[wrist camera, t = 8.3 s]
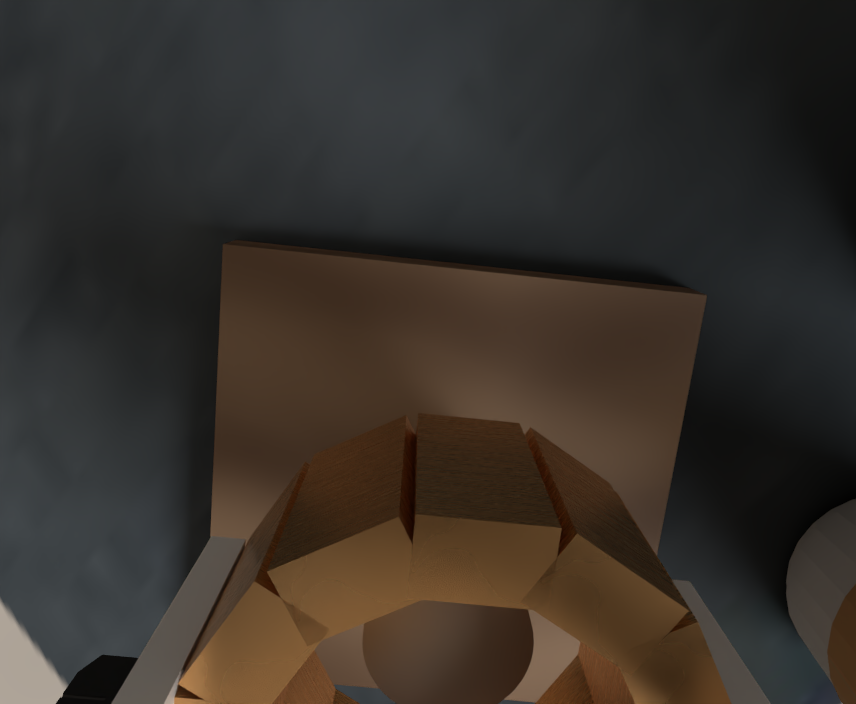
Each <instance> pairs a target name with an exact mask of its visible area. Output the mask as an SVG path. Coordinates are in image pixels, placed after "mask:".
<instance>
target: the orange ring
mask: <svg viewBox="0 0 856 704" xmlns="http://www.w3.org/2000/svg"><path fill="white" fill-rule="evenodd" d="M421 600H430V601H440V602H451V603H462V604H473V605H484V606H495V607H506V608H517V609H528V610H534V611H535V612H537V613H538V614H540V615H541V616H543V617H544V618H546V619H547V620H549V621H550V622H552V623H553V624H555V625H556V626H558V627H559V628H561V629H562V630H564V631H565V632H567V633H568V634H570V635H571V636H573V637H574V638H576V639H577V640H579V641H580V645H579V651H578V655H577V656H576V657H575V658H574V659H573V660H572V662H571V663H570V664H569V665H568V666H567V667H566V669H565V670H564V671H563V672H562V673H561V674H560V675H559V677H558V678H557V679H556V680H555V681H554V682H553V683H552V685H551V686H550V687H549V688H548V689H547V690H546V692H545V693H544V694H543V695H542V696H541V697H540V698H539V700H538V701H537V702H536V703H535V704H731V702H730V699H729V697H728V694H727V692H726V689H725V687H724V684H723V682H722V679H721V677H720V674H719V672H718V670H717V667H716V665H715V662H714V660H713V657H712V655H711V652H710V650H709V647H708V645H707V643H706V640H705V638H704V635H703V633H702V630H701V628H700V625H699V623H698V621H697V619H696V618H695V616H694V615H693V613H692V611H691V610H690V608H689V607H688V605H687V603H686V602H685V600H684V599H683V597H682V595H681V594H680V592H679V591H678V589H677V587H676V586H675V584H674V583H673V581H672V579H671V578H670V576H669V575H668V573H667V571H666V570H665V568H664V567H663V565H662V563H661V562H660V560H659V559H658V557H657V556H656V554H655V552H654V551H653V549H652V548H651V546H650V544H649V543H648V541H647V540H646V538H645V536H644V535H643V533H642V532H641V530H640V528H639V527H638V525H637V524H636V522H635V520H634V519H633V517H632V516H631V514H630V512H629V511H628V509H627V508H626V506H625V504H624V503H623V501H622V500H621V498H620V496H619V495H618V493H617V492H615V491H614V489H613V488H612V486H611V485H610V483H609V482H608V481H606V480H605V479H603V478H602V477H600V476H599V475H598V474H596V473H595V472H593V471H592V470H591V469H589V468H588V467H586V466H585V465H584V464H582V463H581V462H579V461H578V460H576V459H575V458H574V457H572V456H571V455H569V454H568V453H567V452H565V451H564V450H562V449H561V448H559V447H558V446H557V445H555V444H554V443H552V442H551V441H550V440H548V439H547V438H545V437H544V436H543V435H541V434H540V433H538V432H537V431H535V430H534V429H533V428H531V427H530V428H529V430H528V431H527V432H526V433H525V435H524V433H523V430H522V428H521V425H520V423H515V422H505V421H495V420H485V419H475V418H465V417H454V416H444V415H434V414H424V413H418V419H417V428H416V434H415V432H414V430H413V428H412V426H411V423H410V421H409V419H408V417H407V415H405V416H402V417H400V418H398V419H395V420H393V421H391V422H388V423H386V424H384V425H381V426H379V427H377V428H374V429H372V430H370V431H367V432H365V433H363V434H360V435H358V436H356V437H353V438H351V439H349V440H346V441H344V442H342V443H339V444H337V445H335V446H332V447H330V448H328V449H325V450H323V451H321V452H318V453H316V454H314V456H313V459H312V461H311V463H310V464H309V463H307V462H306V461H305V462H304V464H303V465H302V466H301V468H300V469H299V471H298V472H297V473H296V475H295V476H294V477H293V479H292V480H291V482H290V483H289V484H288V486H287V487H286V488H285V490H284V491H283V492H282V494H281V495H280V497H279V498H278V499H277V501H276V502H275V503H274V505H273V506H272V507H271V509H270V510H269V512H268V513H267V514H266V516H265V517H264V518H263V520H262V521H261V523H260V524H259V525H258V527H257V528H256V529H255V531H254V532H253V533H252V535H251V536H250V538H249V540H248V542H247V544H246V546H245V548H244V550H243V552H242V554H241V556H240V558H239V560H238V563H237V565H236V567H235V569H234V571H233V573H232V575H231V577H230V579H229V581H228V583H227V585H226V587H225V589H224V591H223V593H222V595H221V597H220V599H219V601H218V603H217V605H216V607H215V609H214V611H213V613H212V615H211V617H210V619H209V622H208V624H207V626H206V628H205V630H204V632H203V634H202V636H201V638H200V640H199V642H198V644H197V646H196V648H195V650H194V652H193V654H192V656H191V658H190V660H189V662H188V664H187V666H186V668H185V670H184V672H183V674H182V676H181V679H180V681H179V683H178V684H179V685H180V687H179V689H178V691H177V693H176V695H175V697H174V704H359V703H358V702H356V701H354V700H353V699H351V698H350V697H348V696H346V695H345V694H343V693H342V692H340V691H338V690H337V689H335V687H334V685H333V683H332V681H331V680H330V678H329V676H328V674H327V672H326V670H325V668H324V667H323V665H322V663H321V661H320V659H319V657H318V656H317V654H316V652H315V650H314V649H315V648H316V647H317V646H318V644H319V643H320V642H321V641H322V640H324V639H327V638H329V637H332V636H334V635H337V634H339V633H341V632H344V631H346V630H349V629H351V628H354V627H356V626H359V625H361V624H364V623H366V622H369V621H371V620H374V619H376V618H379V617H381V616H384V615H386V614H388V613H391V612H393V611H396V610H398V609H401V608H403V607H406V606H408V605H411V604H413V603H416V602H418V601H421Z"/></svg>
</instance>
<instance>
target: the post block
mask: <svg viewBox="0 0 856 704" xmlns="http://www.w3.org/2000/svg"><path fill="white" fill-rule="evenodd" d="M706 299H707V295H705V294H703V293H700V292H698V291H695V290H693V289H691V288H685V287H676V286H666V285H657V284H648V283H638V282H629V281H619V280H610V279H600V278H591V277H582V276H572V275H563V274H553V273H544V272H534V271H525V270H515V269H506V268H497V267H487V266H478V265H468V264H459V263H449V262H440V261H431V260H421V259H412V258H402V257H393V256H383V255H374V254H364V253H355V252H346V251H336V250H327V249H317V248H308V247H298V246H289V245H279V244H270V243H261V242H251V241H242V240H234V241H231V242H228V243H225V244H223V254H222V277H221V300H220V323H219V347H218V370H217V393H216V416H215V439H214V463H213V486H212V509H211V532H210V538H211V536H217V537H227V538H238V539H246V543H245V546H246V544H247V542H248V540H249V538H250V536H251V535H252V533H253V532H254V531H255V529H256V528H257V527H258V525H259V524H260V523H261V521H262V520H263V518H264V517H265V516H266V514H267V513H268V512H269V510H270V509H271V507H272V506H273V505H274V503H275V502H276V501H277V499H278V498H279V497H280V495H281V494H282V492H283V491H284V490H285V488H286V487H287V486H288V484H289V483H290V482H291V480H292V479H293V477H294V476H295V475H296V473H297V472H298V471H299V469H300V468H301V466H302V465H303V464H304V462H305V461H306V462H307V463H309V464H310V463H311V461H312V459H313V456H314V454H316V453H318V452H321V451H323V450H325V449H328V448H330V447H332V446H335V445H337V444H339V443H342V442H344V441H346V440H349V439H351V438H353V437H356V436H358V435H360V434H363V433H365V432H367V431H370V430H372V429H374V428H377V427H379V426H381V425H384V424H386V423H388V422H391V421H393V420H395V419H398V418H400V417H402V416H405V415H407V417H408V419H409V421H410V423H411V426H412V428H413V430H414V432H415V434H416V428H417V419H418V413H424V414H434V415H444V416H454V417H465V418H475V419H485V420H495V421H505V422H515V423H520V425H521V428H522V430H523V433H524V435H525V433H526V432H527V431H528V430H529V428H530V427H531V428H533V429H534V430H535V431H537V432H538V433H540V434H541V435H543V436H544V437H545V438H547V439H548V440H550V441H551V442H552V443H554V444H555V445H557V446H558V447H559V448H561V449H562V450H564V451H565V452H567V453H568V454H569V455H571V456H572V457H574V458H575V459H576V460H578V461H579V462H581V463H582V464H584V465H585V466H586V467H588V468H589V469H591V470H592V471H593V472H595V473H596V474H598V475H599V476H600V477H602V478H603V479H605V480H606V481H608V482H609V483H610V485H611V486H612V488H613V489H614V491H615V492H617V493H618V495H619V496H620V498H621V500H622V501H623V503H624V504H625V506H626V508H627V509H628V511H629V512H630V514H631V516H632V517H633V519H634V520H635V522H636V524H637V525H638V527H639V528H640V530H641V532H642V533H643V535H644V536H645V538H646V540H647V541H648V543H649V544H650V546H651V548H652V549H653V551H654V552H655V554H656V556H657V552H658V547H659V542H660V536H661V531H662V526H663V521H664V516H665V511H666V505H667V500H668V495H669V490H670V485H671V480H672V474H673V469H674V464H675V459H676V454H677V449H678V443H679V438H680V433H681V428H682V423H683V418H684V412H685V407H686V402H687V397H688V392H689V387H690V381H691V376H692V371H693V366H694V361H695V356H696V350H697V345H698V340H699V335H700V330H701V325H702V319H703V314H704V309H705V304H706ZM579 645H580V641H579V640H577V639H576V638H574V637H573V636H571V635H570V634H568V633H567V632H565V631H564V630H562V629H561V628H559V627H558V626H556V625H555V624H553V623H552V622H550V621H549V620H547V619H546V618H544V617H543V616H541V615H540V614H538V613H537V612H535V611H534V610H528V609H517V608H506V607H495V606H484V605H473V604H462V603H451V602H440V601H430V600H421V601H418V602H416V603H413V604H411V605H408V606H406V607H403V608H401V609H398V610H396V611H393V612H391V613H388V614H386V615H384V616H381V617H379V618H376V619H374V620H371V621H369V622H366V623H364V624H361V625H359V626H356V627H354V628H351V629H349V630H346V631H344V632H341V633H339V634H337V635H334V636H332V637H329V638H327V639H324V640H322V641H321V642H320V643H319V644H318V646H317V647H316V648H315V649H314V650H315V652H316V654H317V656H318V657H319V659H320V661H321V663H322V665H323V667H324V668H325V670H326V672H327V674H328V676H329V678H330V680H331V681H332V683H333V684H336V685H348V686H359V687H370V688H380V689H381V691H382V692H383V693H384V694H386V695H387V696H388V697H389V698H390V699H391V700H393V701H394V702H396V703H397V704H498V703H499V702H501V701H502V700H515V701H527V702H537V701H538V700H539V698H540V697H541V696H542V695H543V694H544V693H545V692H546V690H547V689H548V688H549V687H550V686H551V685H552V683H553V682H554V681H555V680H556V679H557V678H558V677H559V675H560V674H561V673H562V672H563V671H564V670H565V669H566V667H567V666H568V665H569V664H570V663H571V662H572V660H573V659H574V658H575V657H576V656H577V655H578V651H579Z"/></svg>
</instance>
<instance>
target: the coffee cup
mask: <svg viewBox="0 0 856 704" xmlns="http://www.w3.org/2000/svg"><path fill="white" fill-rule="evenodd" d="M786 585H787V589H786V596H787V603H788V611H789V615H790V618H791V620H792V622H793V624H794V626H795V628H796V630H797V632H798V634H799V636H800V637H801V639H802V640H803V641H804V643H805V644H806V646H807V647H808V649H809V650H810V652H811V653H812V655H813V656H814V657H815V659H816V660H817V662H818V663H819V665H820V666H821V668H822V669H823V670H824V672H825V673H826V675H827V676H828V678H829V679H830V681H831V682H832V684H833V685H834V687H835V689H836V692H837V694H838V696H839V698H840V700H841V702H842V703H843V704H856V499H854V500H850V501H848V502H846V503H844V504H842V505H840V506H838V507H835V508H833V509H831V510H830V511H828V512H827V513H826V514H825V515H823V516H822V517H821V518H819V519H818V520H817V521H816V522H814V523H813V524H812V525H811V526H810V527H809V529H808V530H807V531H806V532H805V534H804V535H803V536H802V537H801V539H800V540H799V541H798V543H797V545H796V547H795V550H794V552H793V554H792V556H791V558H790V561H789V566H788V572H787V578H786Z"/></svg>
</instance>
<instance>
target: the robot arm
mask: <svg viewBox="0 0 856 704" xmlns="http://www.w3.org/2000/svg"><path fill="white" fill-rule="evenodd" d="M245 543H246V539H238V538H227V537H217V536H211V538H210V539H209V541H208V543H207V544H206V546H205V548H204V549H203V551H202V553H201V554H200V556H199V558H198V559H197V561H196V563H195V564H194V566H193V568H192V569H191V571H190V573H189V574H188V576H187V578H186V579H185V581H184V583H183V585H182V586H181V588H180V590H179V591H178V593H177V595H176V596H175V598H174V600H173V601H172V603H171V605H170V606H169V608H168V610H167V611H166V613H165V615H164V616H163V618H162V620H161V621H160V623H159V625H158V626H157V628H156V630H155V631H154V633H153V635H152V636H151V638H150V640H149V641H148V643H147V645H146V646H145V648H144V650H143V651H142V653H141V655H140V656H139V658H132V657H121V656H110V655H101V656H100V657H99V658H97V659H96V660H94V661H93V662H92V663H90V664H89V665H87V666H86V667H84V668H83V669H82V670H80V671H79V672H78V673H77V674H76V676H75V677H74V679H73V680H72V681H71V683H70V684H69V686H68V687H67V688H66V690H65V691H64V693H63V697H62V698H60V699H59V700H58V701H57V703H56V704H174V697H175V695H176V693H177V691H178V689H179V687H180V685H179V684H178V683H179V681H180V679H181V676H182V674H183V672H184V670H185V668H186V666H187V664H188V662H189V660H190V658H191V656H192V654H193V652H194V650H195V648H196V646H197V644H198V642H199V640H200V638H201V636H202V634H203V632H204V630H205V628H206V626H207V624H208V622H209V619H210V617H211V615H212V613H213V611H214V609H215V607H216V605H217V603H218V601H219V599H220V597H221V595H222V593H223V591H224V589H225V587H226V585H227V583H228V581H229V579H230V577H231V575H232V573H233V571H234V569H235V567H236V565H237V563H238V560H239V558H240V556H241V554H242V552H243V550H244V548H245ZM672 581H673V583H674V584H675V586H676V587H677V589H678V591H679V592H680V594H681V595H682V597H683V599H684V600H685V602H686V603H687V605H688V607H689V608H690V610H691V611H692V613H693V615H694V616H695V618H696V619H697V621H698V623H699V625H700V628H701V630H702V633H703V635H704V638H705V640H706V643H707V645H708V647H709V650H710V652H711V655H712V657H713V660H714V662H715V665H716V667H717V670H718V672H719V674H720V677H721V679H722V682H723V684H724V687H725V689H726V692H727V694H728V697H729V699H730V702H731V704H771V703H770V702H769V700H768V699H767V697H766V696H765V694H764V693H763V691H762V690H761V688H760V687H759V685H758V684H757V682H756V681H755V679H754V678H753V676H752V675H751V673H750V672H749V670H748V669H747V667H746V665H745V664H744V662H743V661H742V659H741V658H740V656H739V655H738V653H737V652H736V650H735V649H734V647H733V646H732V644H731V643H730V641H729V640H728V638H727V637H726V635H725V634H724V632H723V631H722V629H721V628H720V626H719V625H718V623H717V622H716V620H715V619H714V617H713V616H712V614H711V613H710V611H709V610H708V608H707V607H706V605H705V604H704V602H703V600H702V599H701V597H700V596H699V594H698V593H697V591H696V590H695V588H694V587H693V585H692V584H691V582H690V581H683V580H672Z"/></svg>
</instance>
